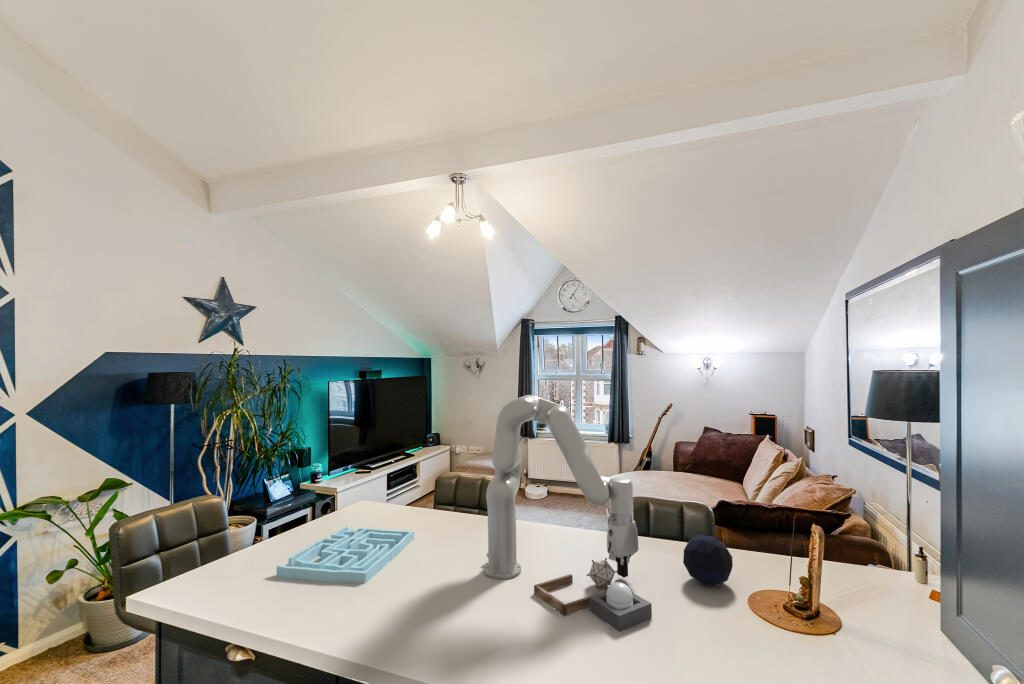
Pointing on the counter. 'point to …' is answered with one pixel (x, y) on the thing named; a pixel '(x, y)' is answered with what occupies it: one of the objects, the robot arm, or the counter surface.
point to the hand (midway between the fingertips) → (622, 575)
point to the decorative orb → (707, 560)
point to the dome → (619, 596)
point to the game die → (601, 573)
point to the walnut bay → (554, 602)
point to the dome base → (620, 611)
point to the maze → (347, 555)
